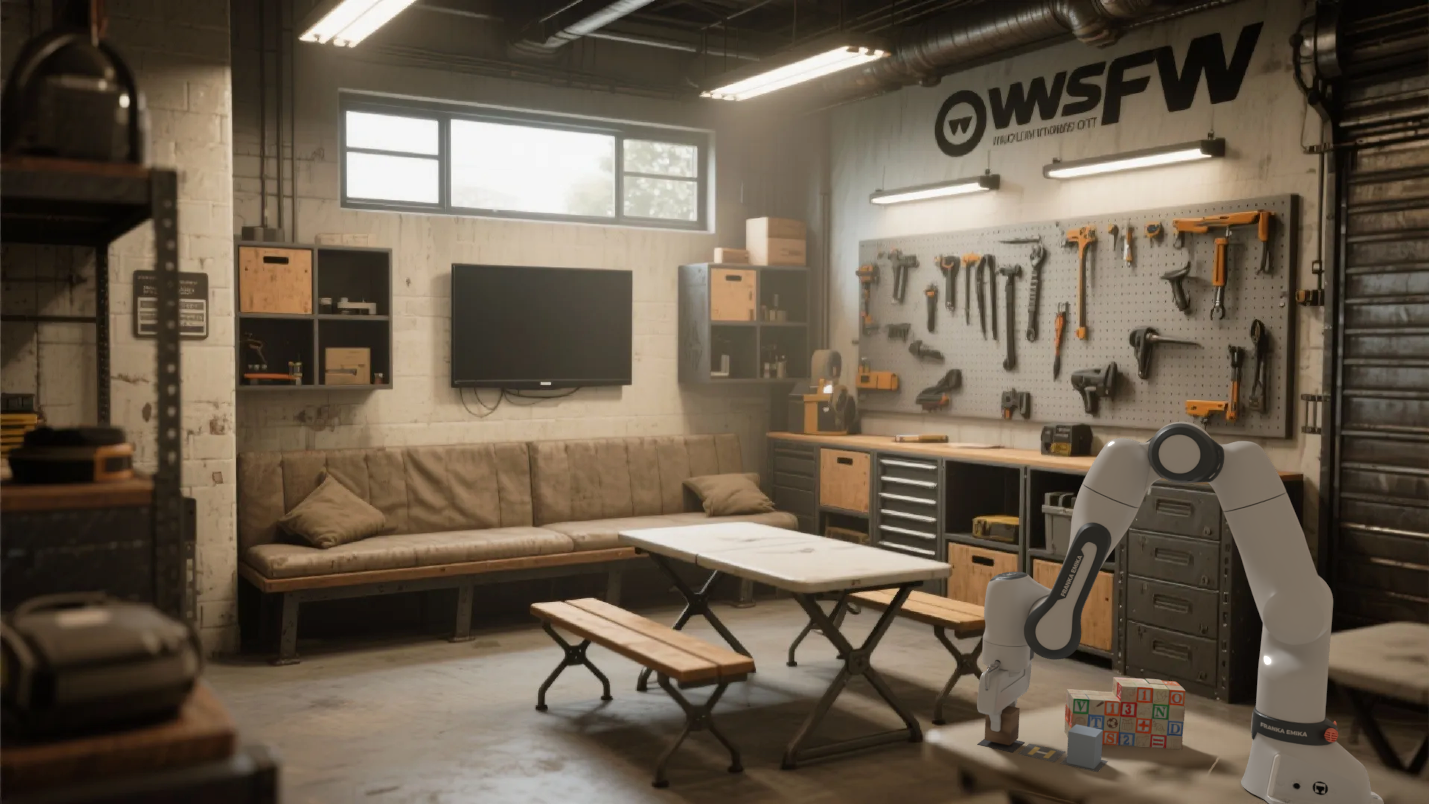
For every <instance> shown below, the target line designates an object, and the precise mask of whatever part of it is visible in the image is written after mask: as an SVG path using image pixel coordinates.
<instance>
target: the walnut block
mask: <svg viewBox="0 0 1429 804" xmlns="http://www.w3.org/2000/svg"><path fill="white" fill-rule="evenodd" d="M1001 721H1002V729H1001V730H1000V731H998V732H997V731H992V730H991V720H990V717H989V715H988V714H985V721H984V722H985V723H984V739H985V740H987V741H992V742H996V743H1001V744H1005V745H1011V744H1012V743H1013V742H1014V741H1016V740H1018V739H1019V731H1020V707H1018V706H1016V707H1012V706H1007V707H1006V708H1004V709H1003V710H1002V714H1001Z"/></svg>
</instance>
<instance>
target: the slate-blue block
mask: <svg viewBox="0 0 1429 804" xmlns="http://www.w3.org/2000/svg"><path fill="white" fill-rule="evenodd" d="M1102 738H1103V730H1101V729H1096V728H1091V727H1087V726H1082V725H1077V724H1076V725H1075V726H1074V727H1073V728H1072V729H1070V730H1069V731H1068V737H1067V749H1066V750H1067V751H1066V753H1067V754H1066V757H1067V763H1069V764H1074V765H1078V766H1082V767H1087V768H1091V769H1094V768H1095V767H1096V766H1097V765H1098V764H1099V763H1100V762H1101V760H1102V755H1103V754H1102V751H1103V744H1102Z"/></svg>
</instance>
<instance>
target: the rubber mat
mask: <svg viewBox="0 0 1429 804" xmlns="http://www.w3.org/2000/svg"><path fill="white" fill-rule="evenodd" d="M1024 743H1025V741H1022V740H1018V739H1017V740H1016V741H1014V742H1013V743H1012V744H1011V745H1005V744H1001V743H996V742H992V741H987V740H985V738H983V739H982V740H980V741H979V742H978V743H976V744H977V746H982V747H987V748H991V749H995V750H999V751H1002V752H1003V751H1004V752H1008V753H1012V754H1013V753H1014V752H1015V751H1017V750H1018V749H1019V748H1020V747H1021V746H1023V744H1024Z"/></svg>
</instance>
